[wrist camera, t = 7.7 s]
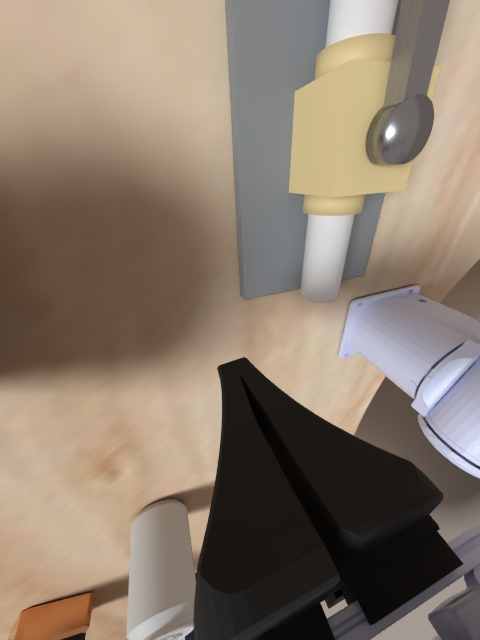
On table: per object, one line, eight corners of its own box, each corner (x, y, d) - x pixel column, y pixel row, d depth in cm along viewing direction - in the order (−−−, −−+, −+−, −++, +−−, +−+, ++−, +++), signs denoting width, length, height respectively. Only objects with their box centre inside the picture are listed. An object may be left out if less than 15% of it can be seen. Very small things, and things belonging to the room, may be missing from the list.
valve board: (443, -100, 12) (619, -262, 7) (355, 272, 23) (406, 295, 18) (216, -173, 9) (286, -519, 4) (240, 295, 20) (267, 329, 15)
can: (124, 511, 31) (114, 664, 21) (181, 489, 33) (196, 620, 23) (139, 531, 35) (137, 667, 25) (189, 510, 37) (205, 629, 27)
